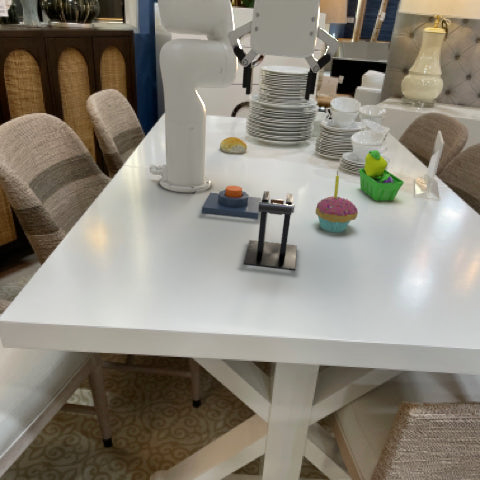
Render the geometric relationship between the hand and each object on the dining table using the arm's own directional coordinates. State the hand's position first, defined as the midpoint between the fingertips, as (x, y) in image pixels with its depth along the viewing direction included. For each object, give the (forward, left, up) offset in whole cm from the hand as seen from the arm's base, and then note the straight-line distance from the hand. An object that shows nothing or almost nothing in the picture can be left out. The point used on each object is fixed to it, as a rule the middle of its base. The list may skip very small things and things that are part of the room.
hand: (277, 96), depth 78 cm
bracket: (+2, -7, -26) cm, 27 cm away
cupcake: (+14, +10, -26) cm, 32 cm away
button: (-8, +15, -23) cm, 28 cm away
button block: (-8, +15, -26) cm, 31 cm away
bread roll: (-15, +69, -26) cm, 75 cm away
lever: (+2, -12, -16) cm, 20 cm away
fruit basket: (+26, +38, -26) cm, 53 cm away
